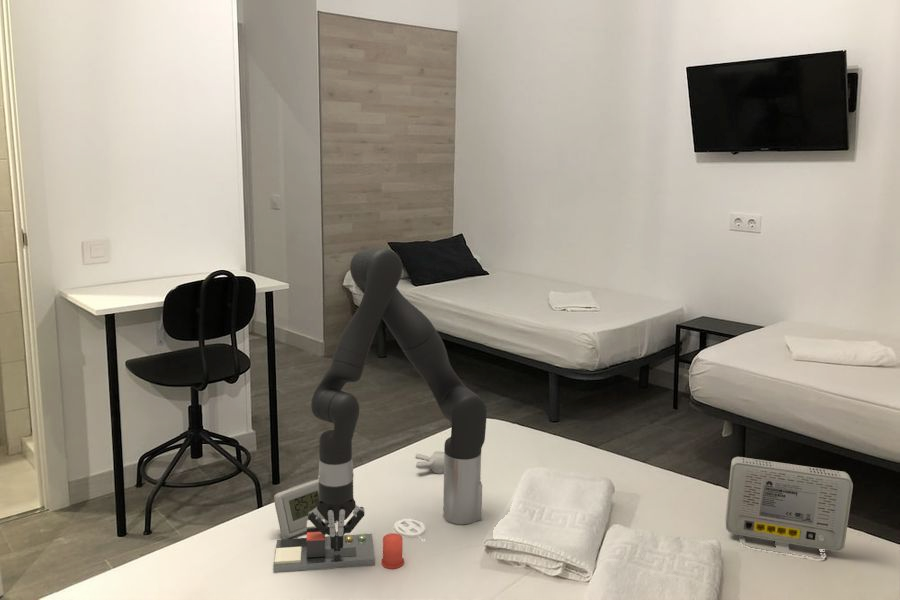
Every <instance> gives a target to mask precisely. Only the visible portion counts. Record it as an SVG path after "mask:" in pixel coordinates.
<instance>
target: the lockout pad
mask: <svg viewBox="0 0 900 600" xmlns="http://www.w3.org/2000/svg"><path fill="white" fill-rule="evenodd" d="M275 550H276V554H275V553H274V557H275V561H274V560H273V565H274V564H287V563H301V550H302V547H287V548H276V547H275Z"/></svg>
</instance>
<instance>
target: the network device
mask: <svg viewBox="0 0 900 600" xmlns="http://www.w3.org/2000/svg"><path fill="white" fill-rule="evenodd" d="M853 486H854V484H853V481H852V478H851V476H850V475H849V474H848V473H847V472H846V471H840V470H833V469H828V468H821V467H813V466H807V465H798V464H793V463H792V464H791V463H785V462H778V461H771V460H765V459H755V458H750V457H743V456H735V457H733V458H732V459H731V464H730V471H729V482H728V492H727V500H726V502H727V503H726V509H725V528H726V530H727V532H728V533H730V534H733V535H738V540H740V542H741V543H742V544H743V545H745V546H748V547H750V548H755V549H761V550H766V551H773V552H778V553H785V554H786V553H787V554H792V555H798V554H799V555H798V556H802V555H806V556H808V557H812V558H814V559H823V558H822V557H820V556H815V555H810V554H809V555H808V554H804V553H797V552H794V551H791V550H790V544H791V545H798V546H803V547H808V548H813V549H818V548H819V549H825V551H832V552H842V551H843V550H844V548H845V544H846V537H847V529H848V522H849V516H850V509H851V502H852V495H853V488H854V487H853ZM746 537H750V538H757V539H763V540H768V541H773V542H774V541H775V543H774V548H770V547H764V546H759V545H758V546H757V545H751V544H749V543H747V542H746ZM740 542H739V543H740ZM775 546H776V548H775ZM823 551H824V550H823ZM793 553H796V554H793ZM820 553H822V554H821V556H823V557H824V556H826V555H824V553H826V554H827V552H820ZM820 553H819V554H820ZM806 556H804V557H806Z"/></svg>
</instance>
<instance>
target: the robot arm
mask: <svg viewBox="0 0 900 600" xmlns="http://www.w3.org/2000/svg"><path fill="white" fill-rule="evenodd" d="M349 267H350V268H349V269H350V270H349V271H350V272H349V273H350V275H351V278H352V280H353V282H354V283H355V285H356V286H357V288H358V289H359V290H360V291H361V293H362V294H363V295H362V298H361V300H360V303H359V306H357V309H356V311H355V313H354V314H353V316H352V317H351V319H350V320H349V322H348V324H347V325H346V327H345V328H344V329H343V332H342V333H341V335H340V337H339V340H338V341H337V345H336V349H335V350H334V354H333V357H332V361H331V363H330V367H329V368H328V370H327V371H326V373H325V374H324V376H323V378H322V379H321V381H320V383H319V384H318V386H317V388H316V389H315V391H314V393H313V396H312V399H311V405H310V406H311V407H310V408H311V412H312V414H313V415H314V417H315V418H317V419H319V420H320V421H324V422H328V423H331V424H333V429H329V430H326V431H324V432H322V433H321V434H320V436H319V440H318V441H319V444H318V448H319V461H318V462H319V464H318V475H317V479H319V501H318V503H317V507H316V508H315V509H313V510H309V512H308V519H309V520H310V521H311V522H312V523H313V524H314V525H315V527H316V528H317V529H318V530H319V531H320V532H321V533H322V534H323V535H325V536H326V535H328V536H330V544H331V549H334V551H340V548H343V535H346V534H351V532H352V531H354V529H355V528H356V526H357V525H358V524H359V522H361V520H362V519H363V518H364V516H365V514H366V513H365V508H364V507H363V506H359V505H357V504H356V500H355V498H354V463H353V453H352V452H353V443H352V442H353V438H354V434H355V431H356V426H357V423H358V419H359V415H360V405H359V404H360V403H359V402H358V399H357V397H356V396H355V395H353V394H352V393H349V392H347V391H344V390H342V389H343V388H344V386H345V385H346V384H347V383H357V382H358V381H359V380H361V378H362V375H363V373H364V368H365V365H366V362H367V359H368V355H369V351H370V349H371V346H372V343H373V340H374V337H375V334H376V333H377V330H378V327H379V325H380V323H381V322H382V321H381V320H383V322H384V324H386V326H387V329H388V330H389V331H390V333H391V334H392V336H393V338H394V339H395V340H396V342H397V344H398V346H399V347H400V348H401V350H402V352H403V354H404V355H405V356H406V358H407V359H408V361H409V362H410V363H411V365H412V366H413V367H414V369H415V370H416V371H417V373H418V374H419V376H421V378H422V380H424V382H426V385H428V388H429V389H430V391H431V393H432V395H433V397H434V400H435V401H436V403H437V405H438V407H439V410H440V411H441V413H442V415H443V416H444V417H445V418H446V420H447V421H448V422H450V423H451V430H450V431H451V432H450V437H448V438H447V439H446V440H445V441H444V451H443V452H444V474H443V498H442V499H443V503H442V504H443V505H442V516H443V518H444V520H446V521H447V522H449V523H452V524H455V525H468V524H473V523H475V522H476V521H481V520H482V511H483V508H482V507H483V506H482V505H483V483H482V481H481V480H482V479H481V478H482V477H481V475H482V474H481V472H482V466H481V465H482V448H483V445H484V444H485V440H486V429H487V415H488V414H487V412H488V411H487V407H486V406H487V405H486V403H485V401H484V399H483V398H482V397H480V396H479V395H478V394H476V393H475V392H474V391H472V390H470V389H469V388H468V387H467V386H466V384H464V383H463V381H462V380H461V378H459V376H458V375H457V373H456V372H455V371H454V369H453V366H452V365H451V362H450V359H449V355H448V352H447V349H446V346H445V343H444V341H443V339H442V338H441V336H440V334H439V332H438V330H437V329H436V327H435V326H434V325H433V323H432V321H431V319H429V318H428V317H427V316H426V315H425V314H424V313H423V312H422V311H421V310H420V309H418V308H417V307H416V306H415V305H414V304H412V303H411V302H410V301H409V300H408V299H407V298H406V297H405V296H404V295H403V294H402V293H401V292H400V290H399V289H398V285H399V283H400V280H401V278H402V274H403V262H402V260H401V257H400V256H399V254H398V253H397V252H396V251H394V250H392V249H389V248H371V249H363V250H360V251H357V253H355V254H354V255H353V256H352V258H351V260H350V265H349ZM319 512H320V514H321V515H322V516H323V517H324V518H325V519H326V520H327V521H329V523H328V524H325V523H324V522H323V521H322V520H321V518H320V517H319ZM351 514H353V515H352V516H351ZM349 516H351V517H350V519H348V518H349ZM347 519H348V521H347V522H346V523H345V521H346V520H347ZM336 522H337V529H336Z"/></svg>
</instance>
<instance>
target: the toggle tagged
mask: <svg viewBox="0 0 900 600" xmlns="http://www.w3.org/2000/svg"><path fill="white" fill-rule="evenodd" d="M325 537H326V535H323V534H322V533H321V532H308V533H307V532H306V538H307V539H306V540H307V558H309V557H323V556H325Z"/></svg>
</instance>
